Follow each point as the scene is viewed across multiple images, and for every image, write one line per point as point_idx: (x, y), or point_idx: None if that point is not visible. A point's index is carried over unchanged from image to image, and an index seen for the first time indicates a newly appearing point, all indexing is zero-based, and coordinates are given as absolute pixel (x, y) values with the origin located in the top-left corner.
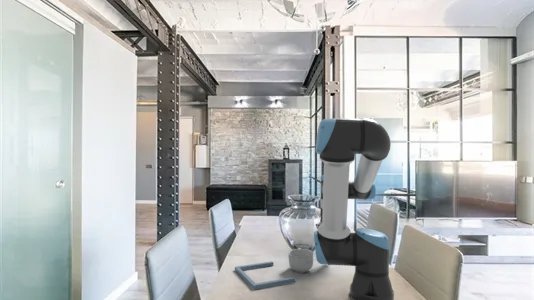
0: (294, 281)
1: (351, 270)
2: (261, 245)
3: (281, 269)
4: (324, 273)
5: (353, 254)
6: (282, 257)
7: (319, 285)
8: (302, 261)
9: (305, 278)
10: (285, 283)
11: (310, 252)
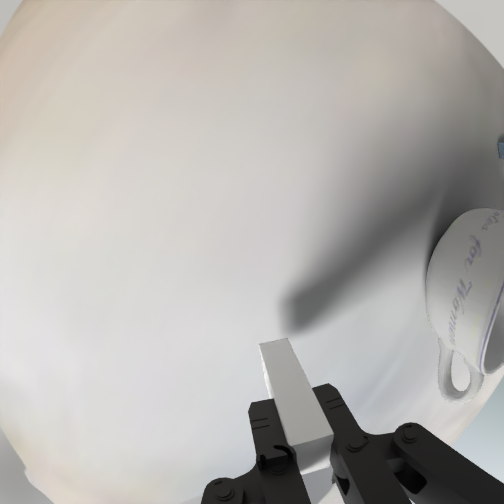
0: (502, 142)
1: (144, 177)
2: None
3: None
4: (379, 177)
5: None
6: (412, 417)
7: (442, 60)
8: None
9: (471, 156)
10: None
11: (485, 321)
